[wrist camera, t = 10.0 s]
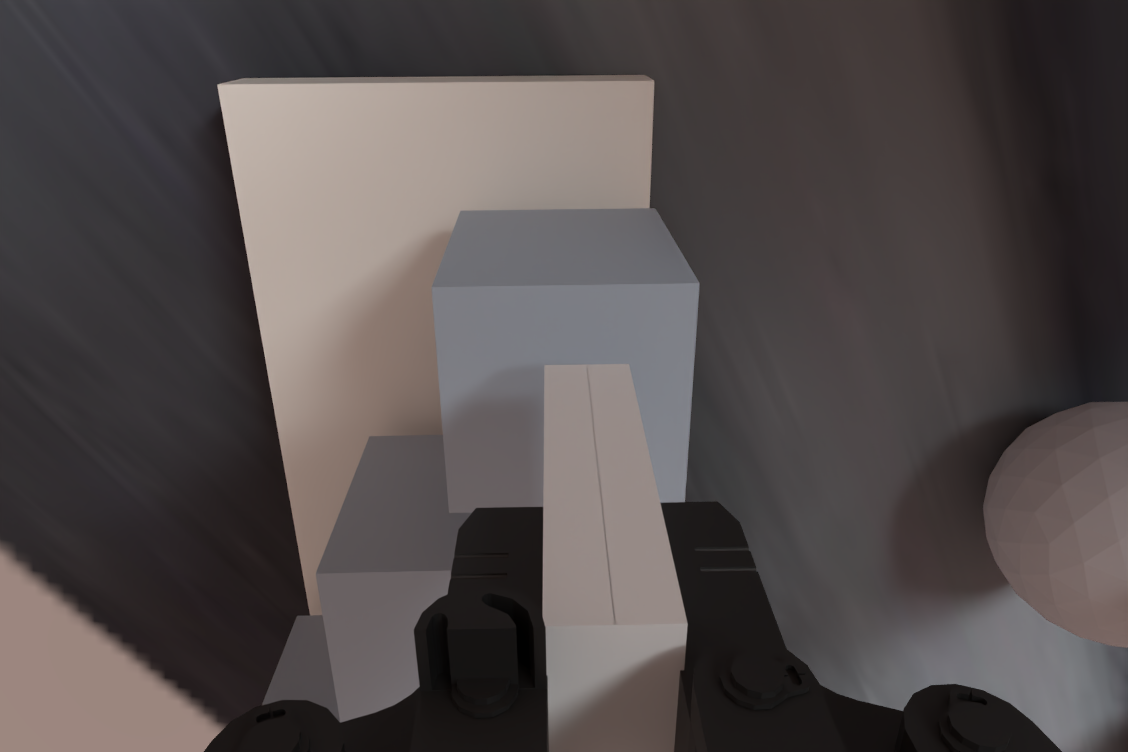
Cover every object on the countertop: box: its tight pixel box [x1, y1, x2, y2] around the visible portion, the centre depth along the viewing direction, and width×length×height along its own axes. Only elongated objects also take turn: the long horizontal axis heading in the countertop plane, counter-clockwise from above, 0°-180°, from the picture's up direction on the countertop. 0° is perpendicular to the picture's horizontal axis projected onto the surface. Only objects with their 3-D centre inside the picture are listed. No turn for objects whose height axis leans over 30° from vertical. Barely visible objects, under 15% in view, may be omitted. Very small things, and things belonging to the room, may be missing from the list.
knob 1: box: [262, 615, 340, 722], centre depth 24 cm, size 5×5×6 cm
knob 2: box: [316, 435, 471, 723], centre depth 21 cm, size 5×5×6 cm
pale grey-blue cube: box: [431, 208, 700, 513], centre depth 19 cm, size 5×5×6 cm
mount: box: [217, 75, 654, 615], centre depth 24 cm, size 11×24×7 cm, turn 0°
